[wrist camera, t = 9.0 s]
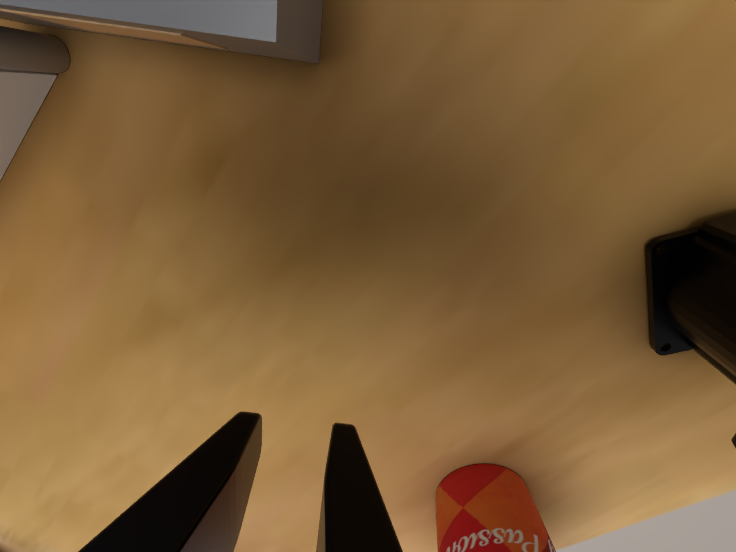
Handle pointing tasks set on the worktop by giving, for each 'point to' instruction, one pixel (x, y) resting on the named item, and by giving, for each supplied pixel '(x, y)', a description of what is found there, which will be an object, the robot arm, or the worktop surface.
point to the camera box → (189, 22)
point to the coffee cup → (488, 513)
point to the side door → (25, 83)
